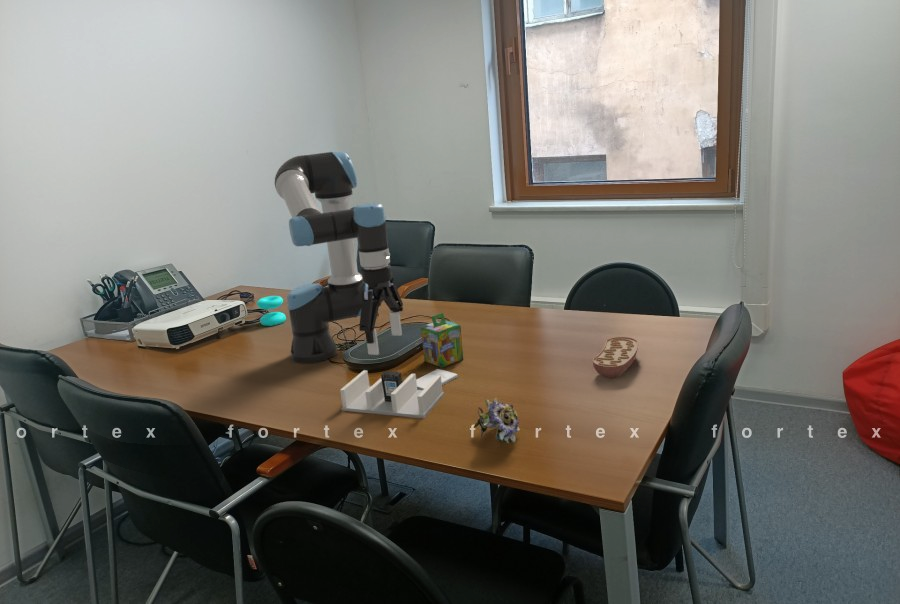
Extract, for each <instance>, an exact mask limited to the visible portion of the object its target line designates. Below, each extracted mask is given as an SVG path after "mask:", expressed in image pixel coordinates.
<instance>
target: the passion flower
mask: <svg viewBox="0 0 900 604" xmlns="http://www.w3.org/2000/svg"><path fill="white" fill-rule="evenodd" d="M484 402H485V405H486V407H487V410H488V411H487V412H485V413H484V410H483V409H482V407H481V406H478V407H477V410H476V411H477V414H478V415H479V418H478V419H477V422H475V423H474V426H473V428H474V429H475V428H477V426H480V438H482V436H483V434H484V433H486V432H487V429H488V428H489V429H493V428H495V429H497V432H496V434H495V439H496V440H497V442H503V443H504V444H506V445H508V444H509V442H510V443H512V444H514V443H516V432H519V431H520V430H521V429H520V427H519V424H520V420H519V419H518V413H517V411H516V410H515V408H514V405H513V404H511V403H510V405H509V404H507V403H504V402H503V401H502V402H498V398H497V397H494V398H493V401H492V402H493V403H492V402H490V400H489V399H485V401H484ZM479 410H480V411H479Z"/></svg>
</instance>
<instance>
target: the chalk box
mask: <svg viewBox="0 0 900 604" xmlns="http://www.w3.org/2000/svg"><path fill="white" fill-rule="evenodd" d="M439 318H440V319H439ZM438 319H439V320H438ZM431 320H432V322H430V323H426V324H424V325H421V326H420V333H421V341H422V342H421V343H422V349H423V350H422V351H423V358H424V359H423V360H424V362H425V363H428V364H431V365H433V366H437V367H439V368H445V367H447V366H450V365H452V364H454V363H457V362H460V361H463V360H464V349H463V339H462V327H461V326H462V325H461V324H458V323H455V322H453V321H451V320H450V321H449V320H446V319H445V315H444V313H443V312H441V313H440V312H439V313H438V314H435V315H432V316H431Z"/></svg>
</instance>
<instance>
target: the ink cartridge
mask: <svg viewBox="0 0 900 604" xmlns="http://www.w3.org/2000/svg"><path fill="white" fill-rule="evenodd" d="M380 378H381V379H382V386H383V392H384V398H385V399H384V400H385V401H387V402H392V401H391V393H392V392H393V391H394V390H395V389H396V388H397V387H398V386H399V385H400V384H401V383H402V382H403V376H402V372H399V371H390V370H386V371H384V372H383V373H382V374H381V375H380Z"/></svg>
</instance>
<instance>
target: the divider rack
mask: <svg viewBox="0 0 900 604" xmlns="http://www.w3.org/2000/svg"><path fill="white" fill-rule="evenodd" d="M368 372H369V371H368V370H365V369H364V370H362V371H361V372H360V373H359V374H357V375H356V376H355V377H353V378H352V380H350V381H349V382H348V383H346V384H345V385H344V386H343V387H341V388H340V389H339V390H340V397H341V405H342V407H341V408H340V410H341V411H345V412H354V413H355V412H356V413H366V414H374V415H375V414H377V415H384V416H385V415H386V416H396V417H397V416H398V417H403V418H404V417H407V418H417V419H425V418H426V417H427V416H428V415H429V413H430V412H431V411H432V410H433V408H434V407H435V406H436V405H437V404H438V403H439V401H440V400H441V399H442V398H443V397H444V396H445V391H443V386H442V382H441V376H438V375H437V376H436V377H435V378H434V379H433V380H432V381H431V382H430V383H429V384H428V385H427V386H426V387H425V389H424V390H417V382H416V379H417V376H416V373H411V374H409V375H408V376H407V377H406V378H405V379H404V381H403V380H402V383H401V384H400V385H399V386H398V387H397V388H396V389H395V390H394V391H393V392H392V393H391V401H392V402H387V401H385V400H384V399H385V398H384V392H383V386H382V379H381V377H380V378H379V379H378V380H377V381H375V383H373V385H370V379H369V378H370V377H369V373H368Z"/></svg>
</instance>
